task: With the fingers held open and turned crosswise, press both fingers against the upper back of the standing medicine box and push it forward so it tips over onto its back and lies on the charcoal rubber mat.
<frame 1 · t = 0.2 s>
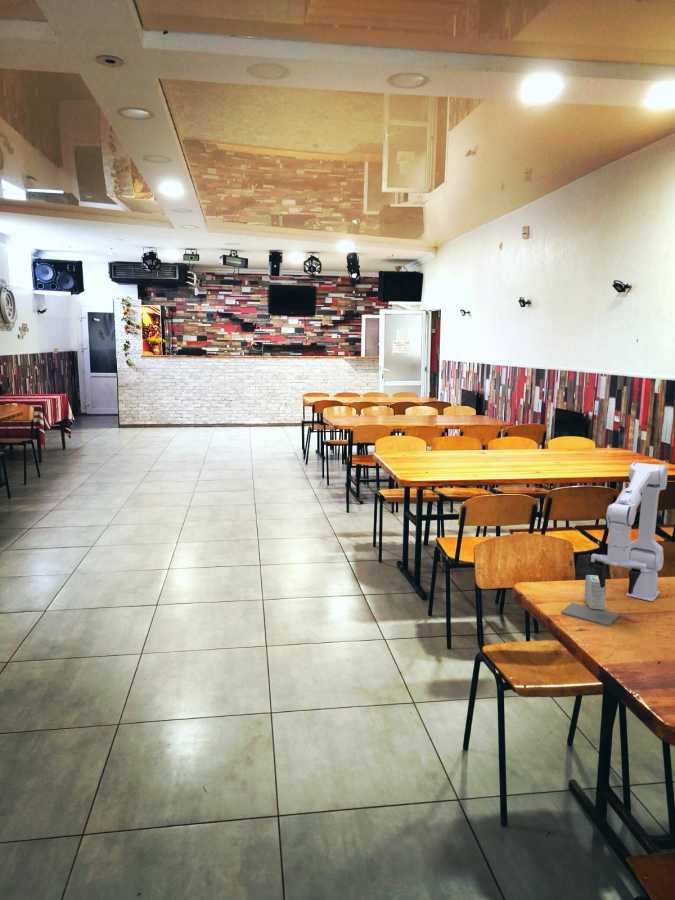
hand: (616, 589, 173), 10 cm above the table, tool pointing down, fingers open, 7 cm apart
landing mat: (589, 614, 180), on the table
medicine box: (594, 606, 185), on the table, touching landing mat
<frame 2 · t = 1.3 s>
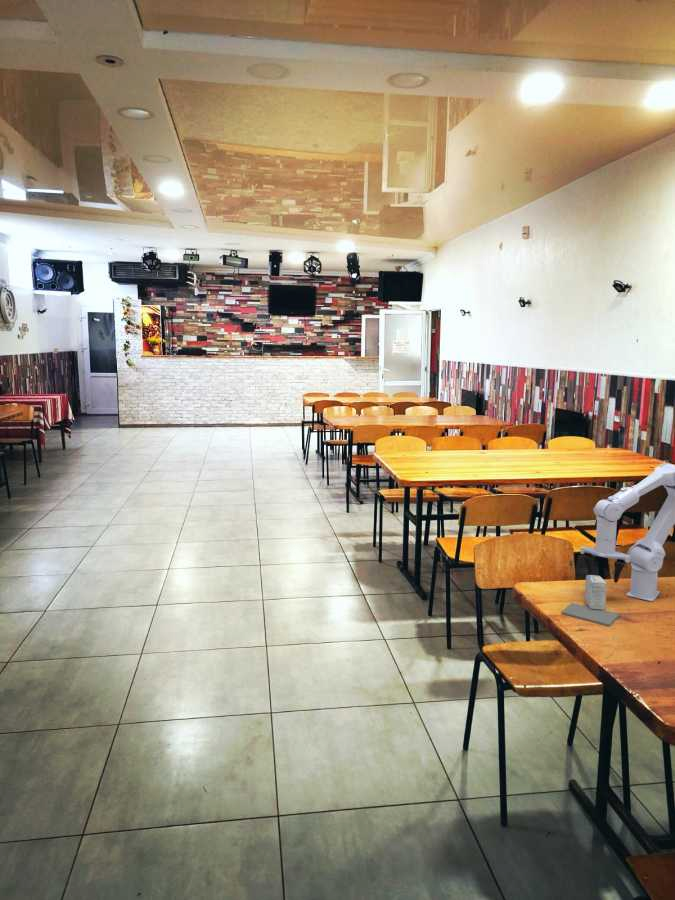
hand: (603, 579, 191), 7 cm above the table, tool pointing down, fingers open, 7 cm apart
nothing on the table moved.
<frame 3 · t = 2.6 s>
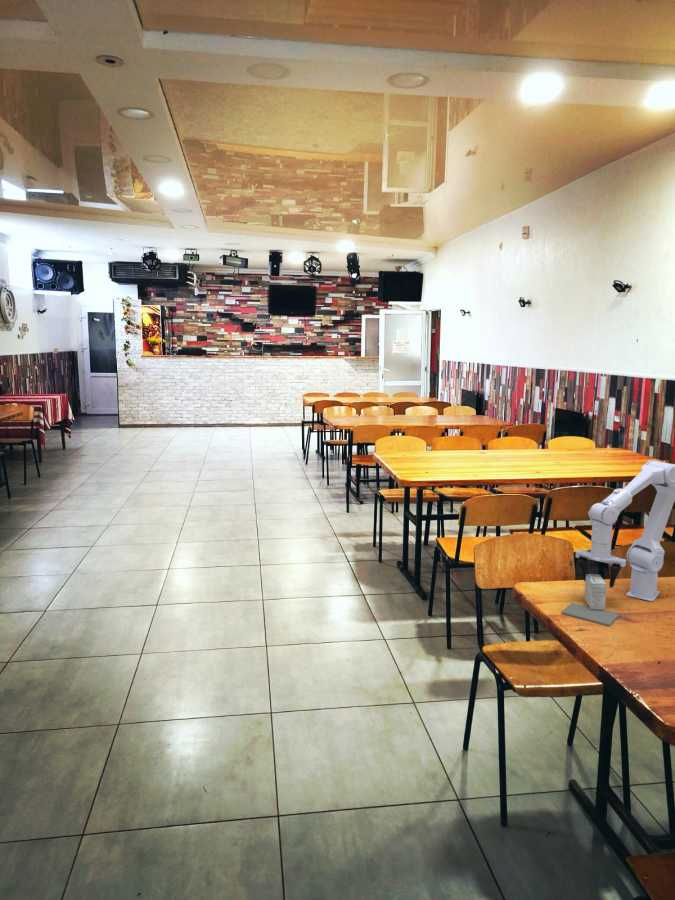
hand: (598, 583, 187), 6 cm above the table, tool pointing down, fingers open, 7 cm apart
medicine box: (594, 605, 185), on the table, touching gripper
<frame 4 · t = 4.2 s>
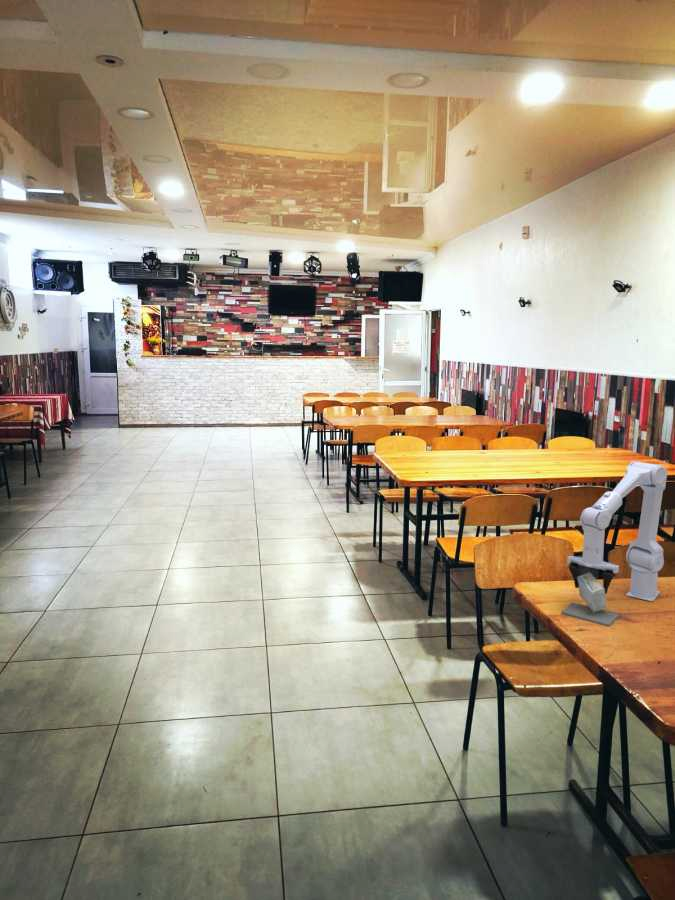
hand: (590, 590, 182), 7 cm above the table, tool pointing down
medicine box: (592, 602, 183), point 2 cm above the table, touching gripper, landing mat
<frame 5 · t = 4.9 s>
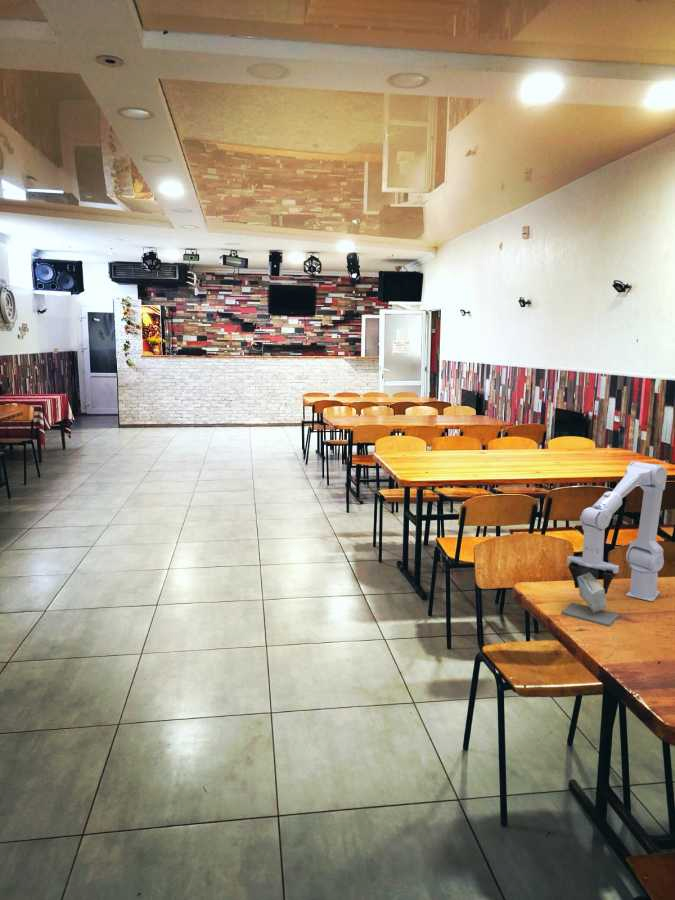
hand: (590, 590, 182), 7 cm above the table, tool pointing down
medicine box: (592, 602, 183), point 2 cm above the table, touching gripper, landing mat
when the fingers open (7 cm above the table, at t = 5.1 s): medicine box stays where it is, resting on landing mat.
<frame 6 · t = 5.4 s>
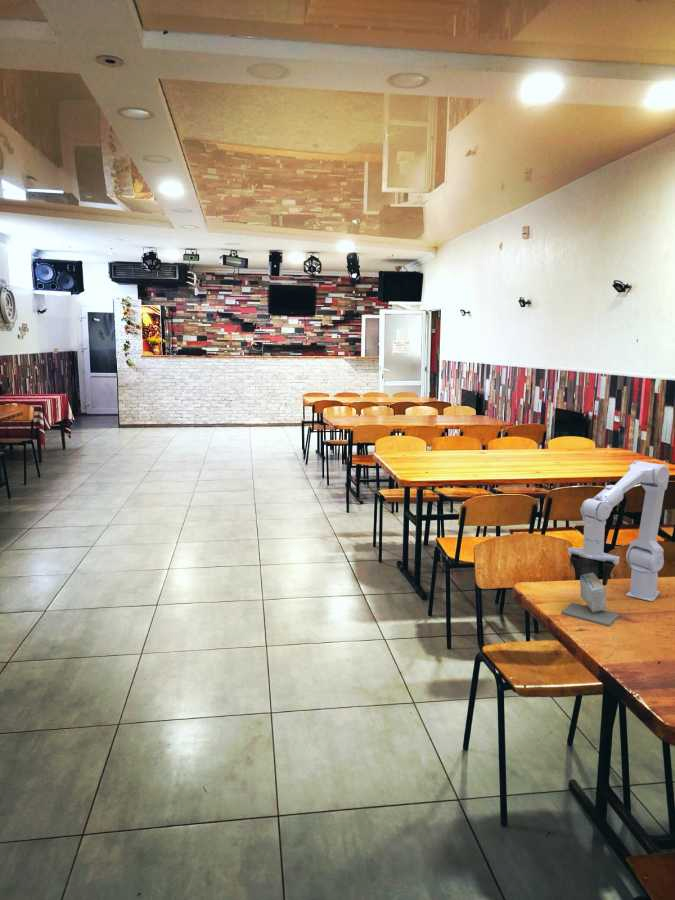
hand: (591, 581, 181), 9 cm above the table, tool pointing down, fingers open, 7 cm apart
medicine box: (593, 603, 183), point 2 cm above the table, touching gripper, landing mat
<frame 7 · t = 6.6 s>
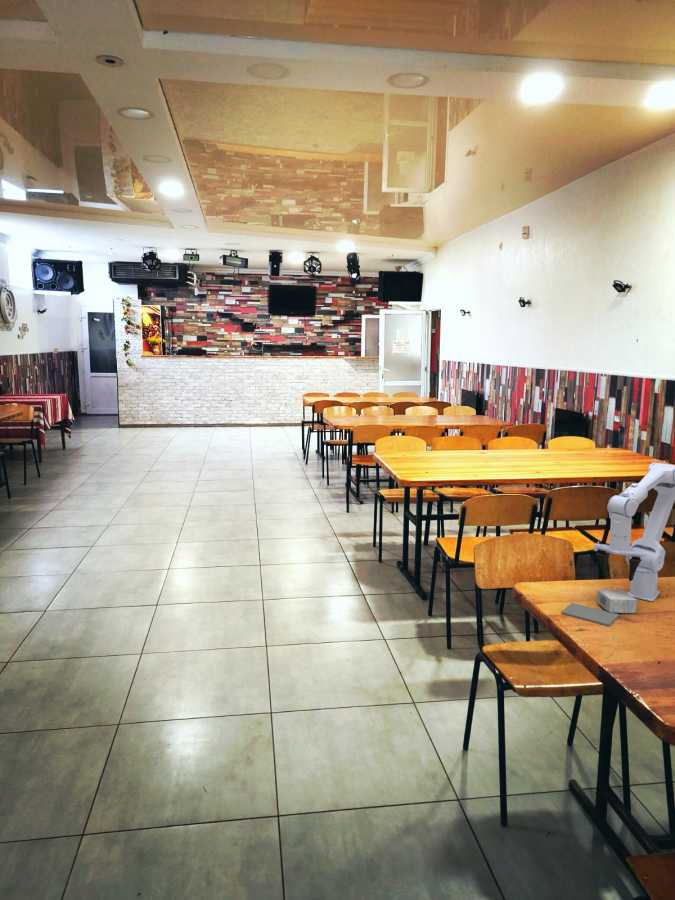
hand: (617, 577, 185), 9 cm above the table, tool pointing down, fingers open, 7 cm apart
medicine box: (602, 600, 183), point 3 cm above the table, touching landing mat
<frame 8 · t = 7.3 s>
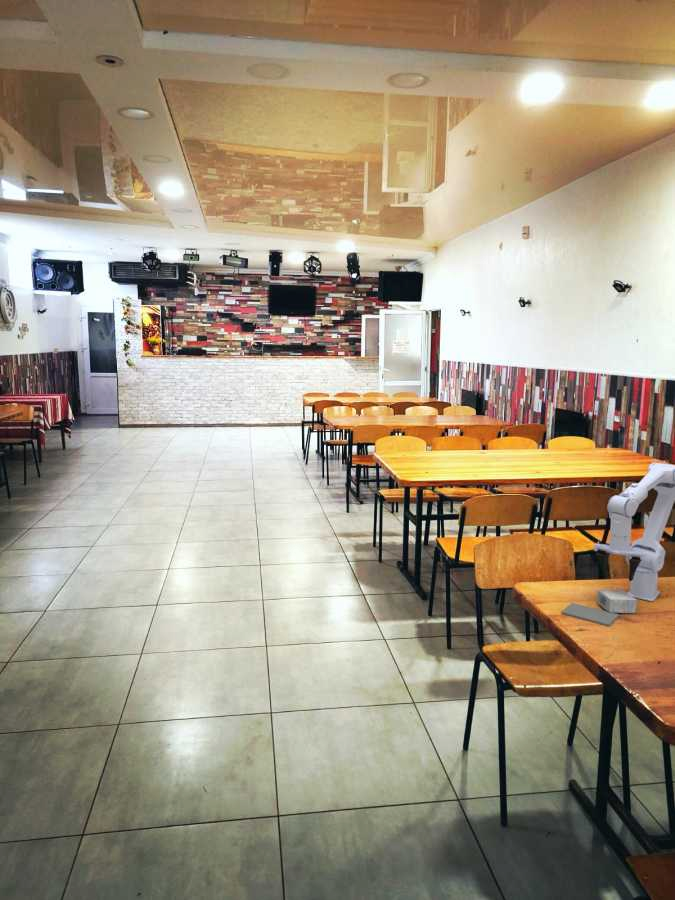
hand: (617, 577, 185), 9 cm above the table, tool pointing down, fingers open, 7 cm apart
nothing on the table moved.
at the end: medicine box tilted 95°; medicine box inside the target area (5.7 cm from its centre), point 2.8 cm above the table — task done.
